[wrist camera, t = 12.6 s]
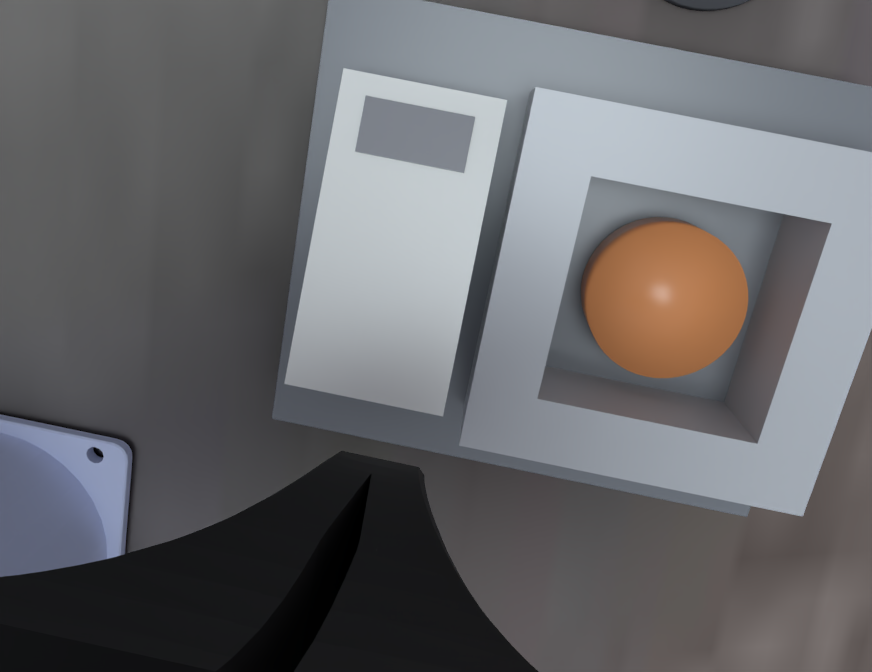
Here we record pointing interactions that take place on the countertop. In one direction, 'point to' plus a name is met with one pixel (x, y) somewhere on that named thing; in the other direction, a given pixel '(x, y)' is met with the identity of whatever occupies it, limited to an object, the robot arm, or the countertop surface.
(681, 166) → the grey fixture with socket
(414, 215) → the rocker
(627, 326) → the orange rounded piece
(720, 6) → the coaster
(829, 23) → the countertop surface
